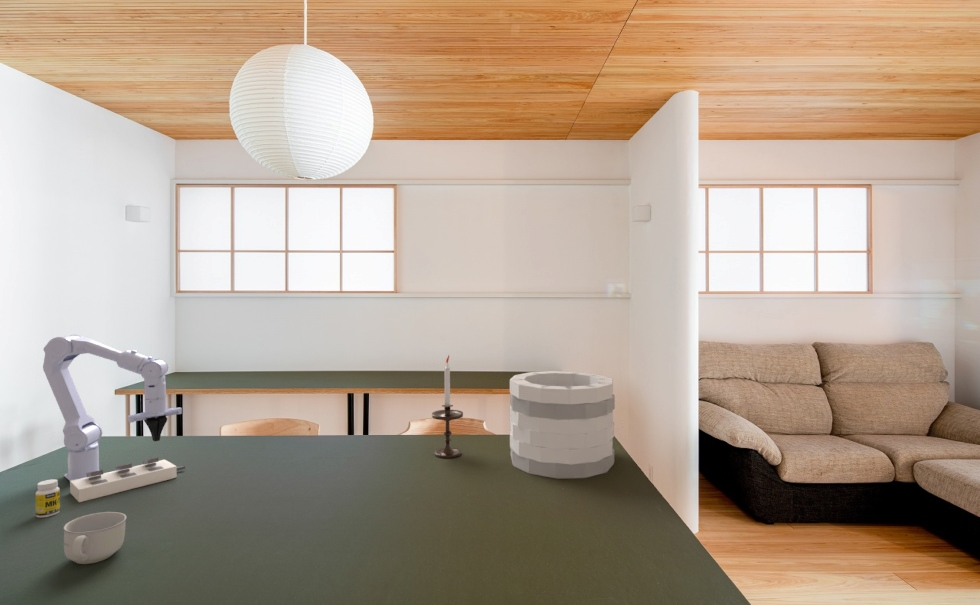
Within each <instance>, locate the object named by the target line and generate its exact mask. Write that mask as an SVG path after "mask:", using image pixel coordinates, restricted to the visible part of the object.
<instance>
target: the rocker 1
mask: <svg viewBox="0 0 980 605" xmlns="http://www.w3.org/2000/svg"><path fill="white" fill-rule="evenodd" d="M103 473H104V470H103V469H101V470H100V469H99V471H93V472H89V473H86V474H87V477H93V476H97V475H102V474H103Z"/></svg>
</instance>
